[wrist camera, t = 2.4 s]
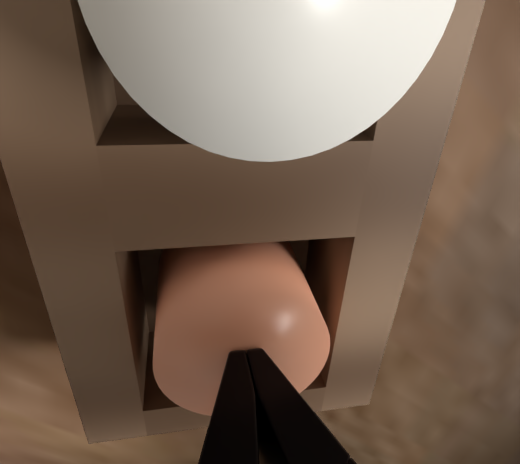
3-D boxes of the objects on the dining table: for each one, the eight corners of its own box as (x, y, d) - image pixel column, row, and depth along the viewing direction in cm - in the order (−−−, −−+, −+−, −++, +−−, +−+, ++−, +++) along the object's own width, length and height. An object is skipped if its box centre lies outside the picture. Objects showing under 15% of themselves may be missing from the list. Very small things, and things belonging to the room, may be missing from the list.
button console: (330, 321, 17) (369, 404, 13) (107, 344, 15) (88, 444, 12) (428, -225, 9) (589, -363, 5) (-33, -297, 7) (-224, -560, 4)
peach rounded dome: (287, 313, 14) (319, 405, 11) (164, 325, 14) (160, 427, 11) (298, 206, 12) (341, 283, 9) (151, 214, 11) (142, 299, 8)
